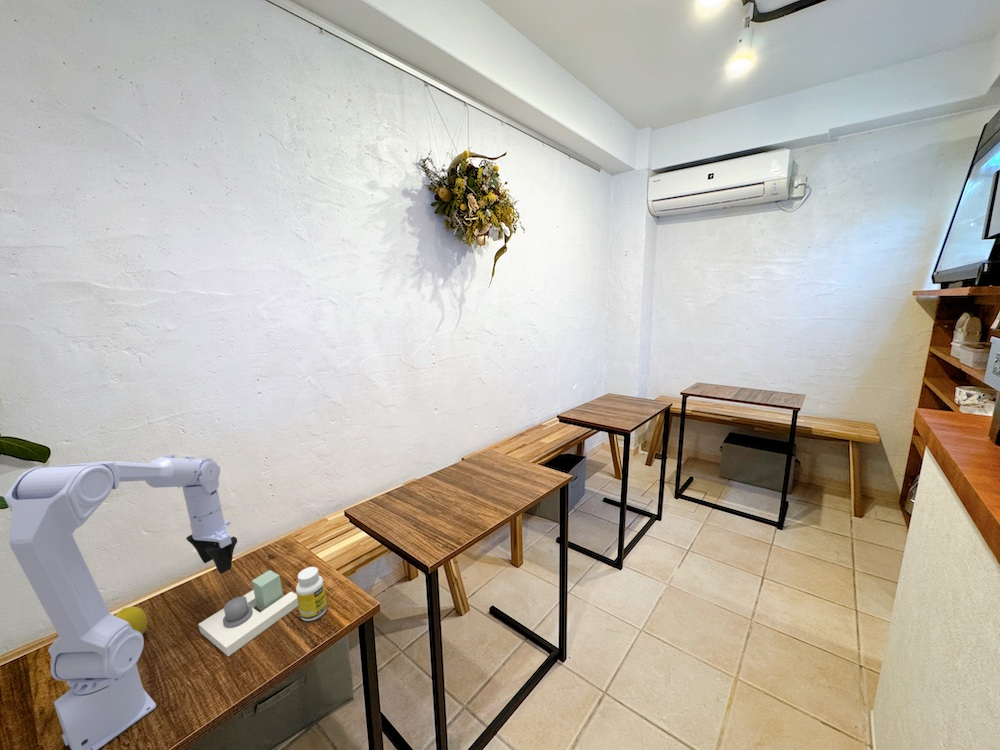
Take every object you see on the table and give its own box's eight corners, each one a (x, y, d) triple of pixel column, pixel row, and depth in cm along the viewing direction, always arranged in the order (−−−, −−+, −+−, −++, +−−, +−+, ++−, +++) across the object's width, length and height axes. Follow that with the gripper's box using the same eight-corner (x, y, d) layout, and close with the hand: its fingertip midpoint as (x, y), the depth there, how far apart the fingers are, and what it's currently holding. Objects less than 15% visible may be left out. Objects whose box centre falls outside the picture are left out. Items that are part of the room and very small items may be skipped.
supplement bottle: (320, 621, 83) (313, 581, 81) (295, 622, 83) (288, 582, 81) (331, 602, 88) (325, 563, 86) (308, 603, 88) (301, 564, 87)
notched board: (228, 656, 76) (222, 632, 75) (200, 632, 82) (194, 609, 81) (300, 603, 88) (297, 582, 87) (271, 586, 95) (267, 566, 93)
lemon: (146, 626, 84) (138, 594, 83) (154, 638, 81) (145, 605, 80) (111, 645, 80) (101, 612, 78) (118, 658, 77) (108, 624, 75)
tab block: (266, 614, 86) (261, 586, 84) (257, 608, 88) (251, 580, 87) (284, 602, 89) (279, 575, 88) (274, 596, 91) (269, 569, 90)
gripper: (241, 509, 86) (252, 564, 88) (210, 495, 93) (221, 546, 96) (204, 526, 80) (217, 584, 82) (174, 510, 87) (187, 563, 90)
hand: (217, 565), depth 89 cm, fingers open, 7 cm apart
